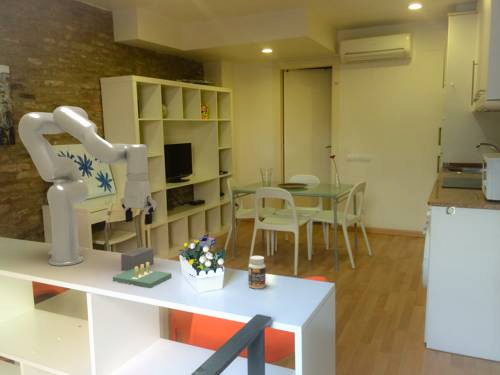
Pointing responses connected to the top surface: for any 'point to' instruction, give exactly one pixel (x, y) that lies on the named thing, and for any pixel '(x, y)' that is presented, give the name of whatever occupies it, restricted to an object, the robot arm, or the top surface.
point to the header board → (142, 276)
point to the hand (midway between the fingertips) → (138, 222)
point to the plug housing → (137, 258)
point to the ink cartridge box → (205, 239)
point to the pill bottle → (256, 272)
